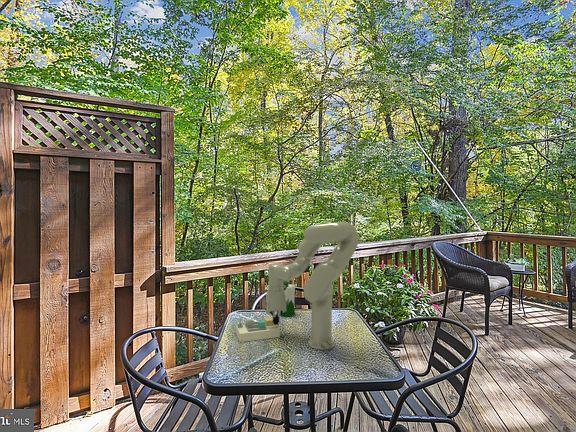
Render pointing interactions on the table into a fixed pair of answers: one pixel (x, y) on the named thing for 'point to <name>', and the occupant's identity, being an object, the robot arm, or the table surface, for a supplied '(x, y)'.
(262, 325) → the slider teal
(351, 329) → the table surface
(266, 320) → the button
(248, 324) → the slider grey
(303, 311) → the table surface
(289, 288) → the milk carton
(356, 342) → the table surface
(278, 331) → the panel
